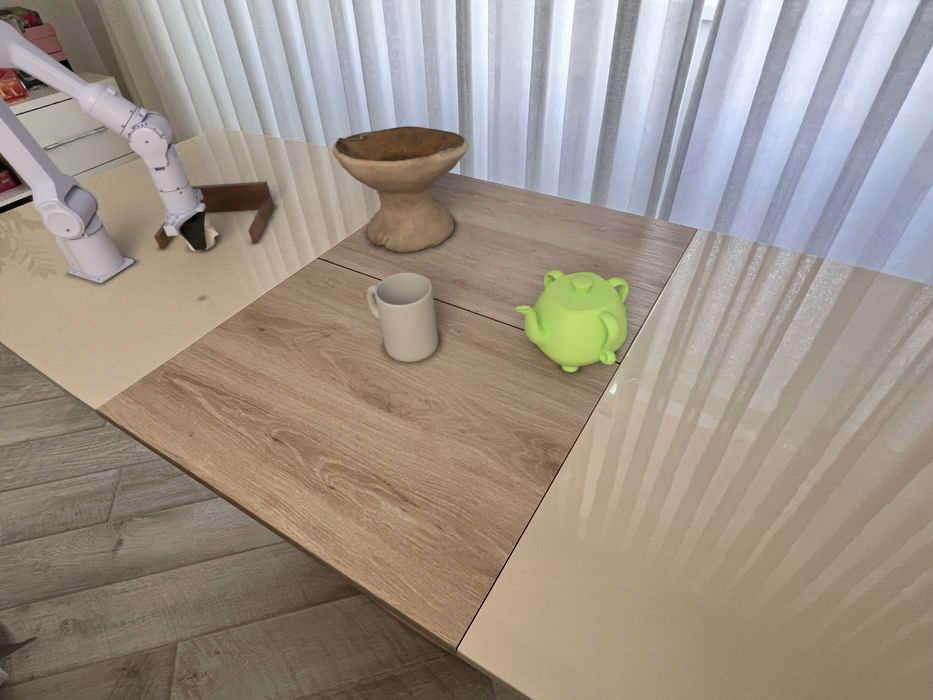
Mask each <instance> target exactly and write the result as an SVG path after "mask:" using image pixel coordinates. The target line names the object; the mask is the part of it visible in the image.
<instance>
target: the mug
mask: <svg viewBox="0 0 933 700" xmlns="http://www.w3.org/2000/svg"><path fill="white" fill-rule="evenodd" d="M366 300H367V304H368V307H369V311H370V312H371V315H373V317H374V318H375V319H376V320H378V321H379V322H380V328H381V332H382V338H383V345H384V349H385V351H386V353H387V354H388V355H389V356H390V357H391V359H394V360H397V361H399V362H403V363H413V362H415V363H416V362H419V361H423V360H425V359H427V358H429V357H430V356H431V355H432V354H433V353H434V352H435V351H436V349H437V348H438V345H439V333H438V326H437V319H436V310H435V302H434V301H435V300H434V293H433V285H432V283H431V281H430V280H429V279H428V277H426V276H424V275H423V274H420V273H416V272H399V273H395V274H391V275H389V276H387V277H385V278H383V279H382V280H381V281H379V282H378V284H374V283H373V284H371V285H369V286H368V288H367V290H366Z"/></svg>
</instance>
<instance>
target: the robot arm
mask: <svg viewBox="0 0 933 700" xmlns="http://www.w3.org/2000/svg"><path fill="white" fill-rule="evenodd" d="M0 69H19V70H20V71H22V72H24V73H26V74H27V75H29V76H31V77H33V78H35V79H37V80H39V81H41V82H42V83H44V84H46V85H48V86H49V87H51V88H52V89H55V90H57V91H58V92H60V93H61V94H63V95H65V96H67V97H69V98H71V99H73V100H74V101H76V102H77V104H78V105H79V107H80V110H81V112H82V114H84V115H85V116H87V117H88V118H90V119H92V120H93V121H95V122H97V123H98V124H100V125H102V126H103V127H105V128H107V129H109V130H110V131H111V132H113V133H115V134H116V135H118V136H120V137H121V138H123V139H125V140H127V141H129V143H128V145H129V147H130V148H131V150H132V151H133V152H134V153H135V154H136V155H138V156H140V157H141V158H142V160H143V162H144V164H145V167H146V169H147V172H148V174H149V176H150V178H151V180H152V183H153V184H154V187H155V189H156V192H157V194H158V196H159V197H160V201H161V202H162V204H163V206H164V209H165V219H164V222H165V225H164V230H165V232H166V234H167V236H173V237H174V236H175V237H176V236H179V235H181V236H182V237H183V238H184V239H185V241H186V240H187V241H188V243H189V244H190V245H191V246H192V247H193V249H194V250H195V251H194V252H202V251H206V250H207V249H206V248H207V244H206V237H205V230H204V222H205V215H206V213H205V212H204V209H205V208H206V206H205V204H204V203H200V201H201V200H203V198H204V197H203V195H202V192H201V190H200V189H196V190H193V189H192V187H191V186H192V184H191V182H190V179H189V177H188V174H187V172H186V169H185V167H184V165H183V163H182V160H181V158H180V156H179V154H178V151H177V148H176V147H175V144H174V142H171V141H172V139H173V134H174V132H173V128H172V127H173V126H172V124H171V123H170V122H169V121H168V120H167V119H166V118H165V117H164V116H162V114H161V113H160V112H157V111H150V110H149V111H148V110H147V109H146V108H144V107H138V106H137V105H136V104H134V103H133V102H132V101H130V100H128V99H126V98H125V97H124V96H122V95H120V94H119V93H118V92H119V90H118V89H117V88H115V87H114V86H113V85H108V86H107V85H105V84H103V83H101V82H96V83H95V82H93V83H91V82H87V81H86V80H85V79H83V78H82V77H81V76H79V75H78V74H76V73H75V72H73V71H72V70H70V69H69V68H67V66H65V65H63V64H62V63H61V62H59V61H57V60H56V59H55V58H53V57H52V56H51V55H49V54H48V53H46V52H45V51H43V50H42V49H41V48H39V47H38V46H36V45H35V44H33V42H30V41H29V40H28V39H26V38H25V37H24V36H22V34H20V32H18V30H17V29H16V28H15V27H13V25H11V24H10V23H8V22H7V21H4V20H2V19H0ZM0 154H1V155H2V156H3V158H4V159H5V160H6V161H7V162H8V163H9V165H10V166H11V167H12V168H13V169H14V170H15V171H16V172H17V174H18V175H19V176H20V177H21V178H22V179H23V181H24V182H25V183H26V184H27V186H29V188H30V190H31V193H32V203H33V207H34V209H35V210H36V211H37V212H38V213H39V215H40V217H41V220H42V224H43V226H44V227H45V229H47V231H48V232H50V234H53V236H55V242H56V243H55V244H56V245H57V247H58V248H59V250H60V252H61V254H62V255H63V256H64V257H65V260H66V261H67V262H68V265H69V266H70V267H71V269H70V270H68V273H69V275H72V276H73V275H74V276H77V277H80V278H83V279H86V280H89V281H92V282H95V283H98V284H103V283H104V282H106V281H108V280H109V279H111V278H112V277H113V276H115V275H117V274H119V273H120V272H121V271H123V270H125V269H126V268H128V267H130V266H131V265H132V264H134V263H135V260H134V259H132V258H127V257H126V256H122V255H121V253H120V251H119V250H118V248H117V246H116V244H115V242H114V241H113V239H112V237H111V235H110V233H109V232H108V230H107V228H106V227H105V225H104V223H103V220H102V219H101V217H100V216H99V214H98V210H99V205H100V204H99V200H98V198H97V197H96V195H95V194H94V193H93V192H92V191H90V190H89V189H88V188H86V187H84V186H83V185H81V183H80V182H79V181H78V180H77V179H76V178H75V177H74V176H71V175H69V174H65V173H63V172H62V171H61V170H60V169H59V167H58V166H57V165H56V164H55V162H54V161H53V160H52V159H51V158H50V156H49V155H48V154H47V153H46V151H45V150H44V149H43V148H42V147H41V145H40V144H39V143H38V141H37V140H36V138H35V137H33V135H32V133H30V131H29V130H28V129H27V127H25V125H24V123H22V122H21V120H20V119H19V118H18V117H17V115H16V114H15V112H14V111H13V110H12V109H11V108H10V106H9V105H8V104H7V103H6V102H5V100H4V99H3V98H2V96H0ZM206 216H207V215H206ZM187 241H186V242H187ZM188 243H187V244H188ZM205 249H206V250H205ZM201 250H202V251H201Z"/></svg>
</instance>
